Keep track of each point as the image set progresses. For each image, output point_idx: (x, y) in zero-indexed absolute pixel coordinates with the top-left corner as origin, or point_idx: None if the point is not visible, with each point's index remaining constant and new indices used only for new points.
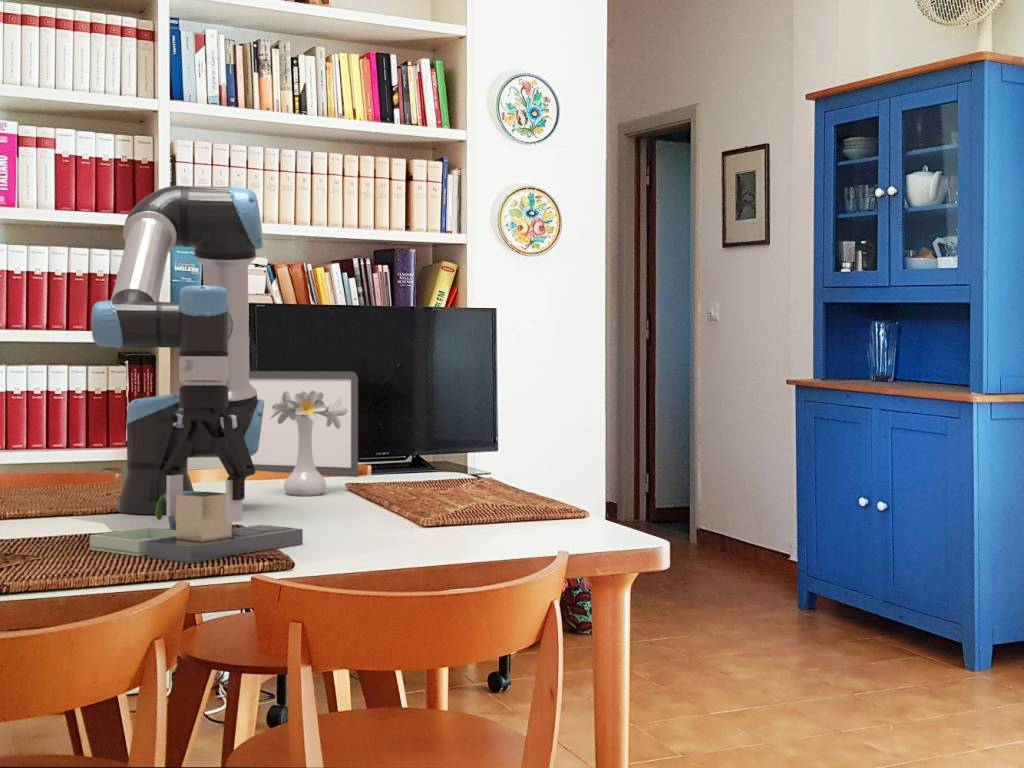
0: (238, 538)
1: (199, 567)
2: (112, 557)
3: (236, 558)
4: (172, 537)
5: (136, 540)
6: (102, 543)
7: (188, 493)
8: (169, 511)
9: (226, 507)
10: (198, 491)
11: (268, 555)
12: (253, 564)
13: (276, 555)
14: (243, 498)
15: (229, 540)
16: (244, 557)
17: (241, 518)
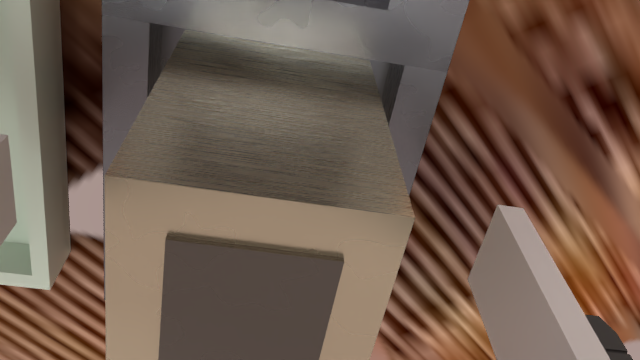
0: (423, 86)
1: (437, 325)
2: (13, 297)
3: (459, 144)
4: (41, 127)
5: (17, 275)
6: None
7: (108, 315)
8: (2, 239)
9: (492, 335)
10: None
11: (559, 22)
12: (590, 223)
13: (597, 6)
14: (603, 326)
15: (419, 157)
16: (478, 112)
17: (524, 219)
